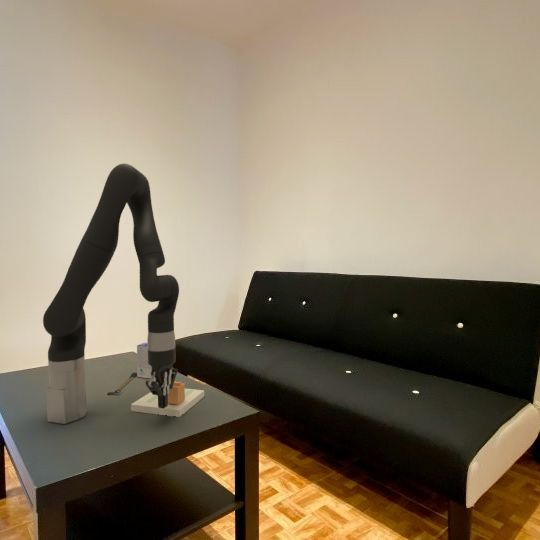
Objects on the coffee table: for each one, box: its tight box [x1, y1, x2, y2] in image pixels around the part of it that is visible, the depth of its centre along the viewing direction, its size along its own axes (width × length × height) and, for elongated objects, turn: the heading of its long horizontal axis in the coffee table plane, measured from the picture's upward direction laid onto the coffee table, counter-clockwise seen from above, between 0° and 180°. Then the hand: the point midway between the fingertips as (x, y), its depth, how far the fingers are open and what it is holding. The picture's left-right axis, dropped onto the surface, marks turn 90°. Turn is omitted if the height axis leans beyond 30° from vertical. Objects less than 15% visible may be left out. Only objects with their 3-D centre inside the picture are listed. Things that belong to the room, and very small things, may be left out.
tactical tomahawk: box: [107, 372, 137, 396], centre depth 139 cm, size 21×7×1 cm, turn 177°
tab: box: [168, 381, 186, 404], centre depth 117 cm, size 4×4×6 cm
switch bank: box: [130, 388, 205, 418], centre depth 121 cm, size 16×16×2 cm
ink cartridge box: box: [136, 342, 152, 379], centre depth 147 cm, size 10×6×14 cm, turn 71°
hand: (163, 407), depth 110 cm, fingers closed
